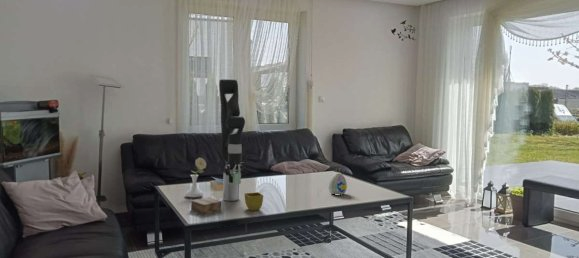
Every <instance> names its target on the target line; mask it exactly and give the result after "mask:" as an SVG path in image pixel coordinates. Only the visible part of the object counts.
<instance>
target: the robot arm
mask: <svg viewBox="0 0 579 258" xmlns="http://www.w3.org/2000/svg"><path fill="white" fill-rule="evenodd" d="M218 87H219V101H220V128H221V129H220V130H221V146H220V147H221V148H220V156H221V159H222V162H228V164H225V165H224V168H223V184H222V185H223V187H222V188H223V191H222V200H224V201H227V202H234V201H237V200H239V199H240V184H236V185H233V184H228V176H229V183H233V173H234V172H238V173H241V174H243V172H244V167H245V162H241V161H242V160H243V159H242V155H243V153H242V151H243V150H242V149H243V148H242V147H243V146H242V135H243V131H244V128H245V125H246V119H245V118H244V116H241V111H240V104H239V96H240V95H239V82H238V80H237V79H236V78H221V79H220V80H219V83H218ZM226 95H232V96H231V97H230V98H229V100H227V98H226ZM235 130H237V131H235ZM234 131H235V132H234ZM230 173H231V174H230Z"/></svg>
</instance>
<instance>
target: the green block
mask: <svg viewBox="0 0 579 258" xmlns="http://www.w3.org/2000/svg"><path fill="white" fill-rule="evenodd" d="M230 174H231V173H230ZM241 183H242V173H238V172H234V173H233V183H229V176H228V184H233V185H236V184H239V185H240V184H241Z"/></svg>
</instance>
